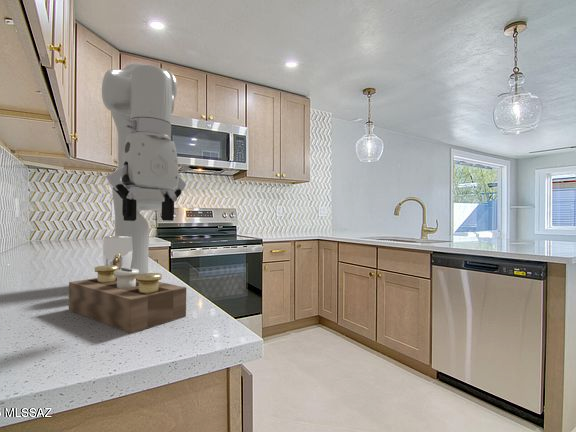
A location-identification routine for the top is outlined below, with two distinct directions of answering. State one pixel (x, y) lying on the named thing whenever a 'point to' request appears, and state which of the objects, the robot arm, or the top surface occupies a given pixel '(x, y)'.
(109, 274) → the brass knob
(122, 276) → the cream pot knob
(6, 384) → the top surface
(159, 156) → the robot arm
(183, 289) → the block
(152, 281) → the brass knob
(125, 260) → the beer glass
